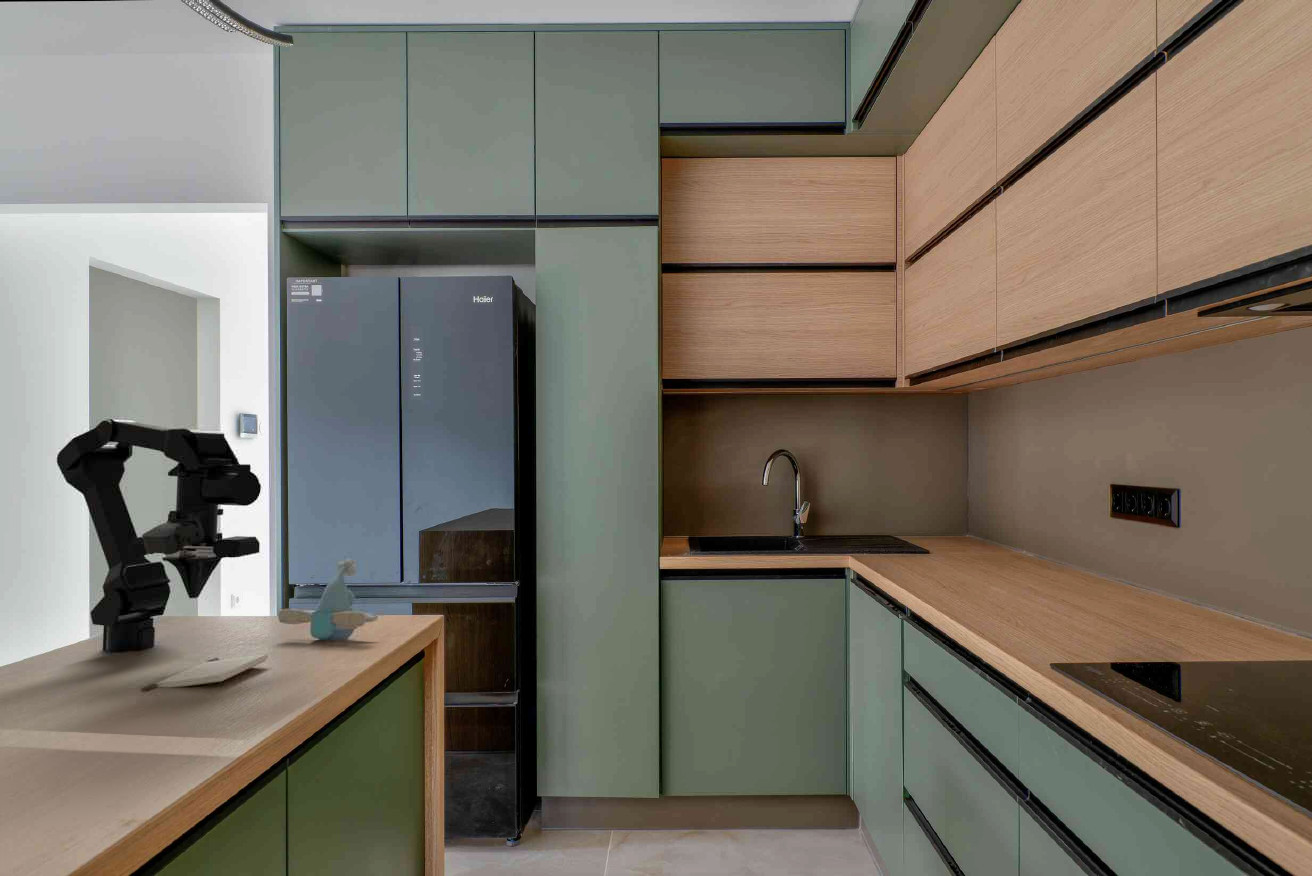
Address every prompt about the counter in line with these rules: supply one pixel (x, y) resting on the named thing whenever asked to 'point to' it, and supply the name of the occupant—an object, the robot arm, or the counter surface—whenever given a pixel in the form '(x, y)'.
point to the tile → (212, 671)
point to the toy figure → (332, 610)
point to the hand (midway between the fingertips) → (193, 597)
